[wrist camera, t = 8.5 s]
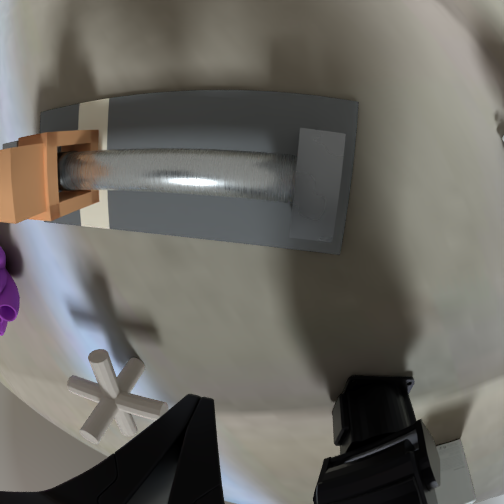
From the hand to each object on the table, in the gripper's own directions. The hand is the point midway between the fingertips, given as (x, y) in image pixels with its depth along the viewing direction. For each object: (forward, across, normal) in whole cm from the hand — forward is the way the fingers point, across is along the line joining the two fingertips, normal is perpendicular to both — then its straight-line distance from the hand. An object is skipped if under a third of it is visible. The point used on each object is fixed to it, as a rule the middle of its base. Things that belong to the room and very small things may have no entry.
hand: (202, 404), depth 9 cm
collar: (+11, +13, -6) cm, 18 cm away
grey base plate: (+13, +7, -6) cm, 16 cm away
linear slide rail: (+13, +7, -6) cm, 16 cm away
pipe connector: (+13, +11, +13) cm, 22 cm away
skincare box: (+13, -27, +28) cm, 41 cm away
